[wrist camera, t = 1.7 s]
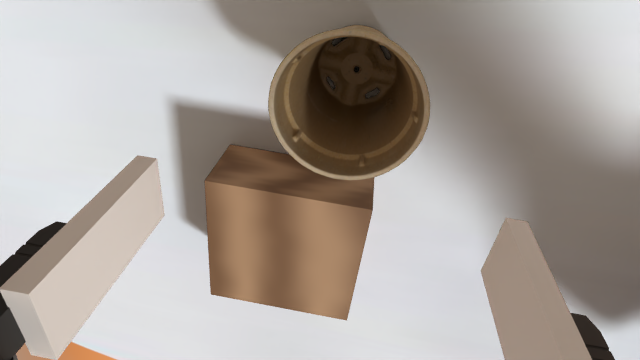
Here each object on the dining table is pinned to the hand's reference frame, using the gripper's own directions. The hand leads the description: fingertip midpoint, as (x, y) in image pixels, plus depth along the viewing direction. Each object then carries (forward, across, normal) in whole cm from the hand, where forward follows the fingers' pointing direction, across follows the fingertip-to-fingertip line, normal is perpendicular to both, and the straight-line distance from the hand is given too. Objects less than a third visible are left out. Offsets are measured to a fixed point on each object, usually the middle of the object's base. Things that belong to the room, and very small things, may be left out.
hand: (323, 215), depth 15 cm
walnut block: (+18, +3, +15) cm, 24 cm away
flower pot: (+19, 0, 0) cm, 19 cm away
